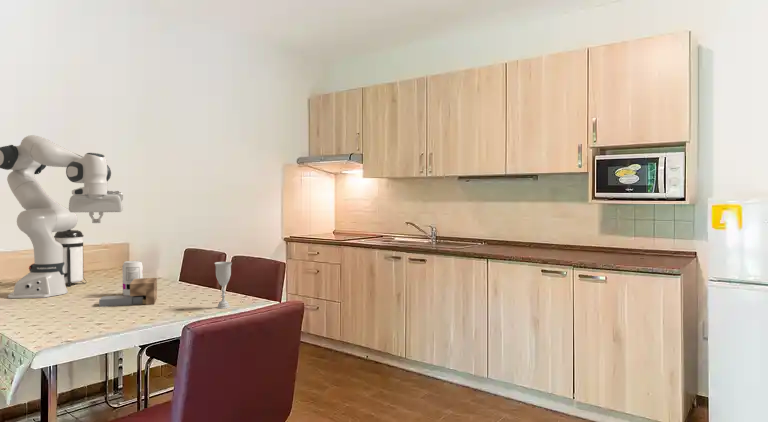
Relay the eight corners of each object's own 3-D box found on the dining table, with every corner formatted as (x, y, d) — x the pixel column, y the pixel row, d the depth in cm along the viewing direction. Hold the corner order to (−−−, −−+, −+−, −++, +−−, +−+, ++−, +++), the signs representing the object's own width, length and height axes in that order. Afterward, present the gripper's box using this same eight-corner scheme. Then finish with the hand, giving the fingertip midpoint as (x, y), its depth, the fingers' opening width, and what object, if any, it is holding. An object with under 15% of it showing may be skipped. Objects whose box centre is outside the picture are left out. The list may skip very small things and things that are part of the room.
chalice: (211, 306, 214) (211, 262, 213) (227, 304, 218) (227, 261, 218) (219, 309, 208) (218, 264, 208) (235, 307, 213) (235, 263, 212)
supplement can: (118, 295, 236) (118, 262, 236) (132, 292, 244) (132, 260, 243) (133, 297, 234) (133, 263, 233) (146, 293, 242) (146, 261, 241)
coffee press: (51, 283, 268) (51, 224, 267) (87, 281, 275) (87, 223, 274) (46, 288, 253) (45, 226, 252) (84, 286, 259) (83, 225, 258)
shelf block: (130, 305, 215) (129, 283, 215) (134, 299, 228) (134, 278, 228) (154, 304, 218) (153, 282, 217) (157, 298, 231) (156, 277, 231)
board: (99, 307, 213) (99, 299, 213) (102, 303, 220) (102, 296, 220) (142, 304, 218) (142, 297, 218) (144, 301, 225) (144, 294, 225)
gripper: (123, 191, 232) (124, 222, 232) (71, 190, 225) (71, 223, 226) (121, 190, 226) (122, 223, 226) (67, 190, 219) (67, 223, 220)
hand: (96, 223), depth 226 cm, fingers closed
